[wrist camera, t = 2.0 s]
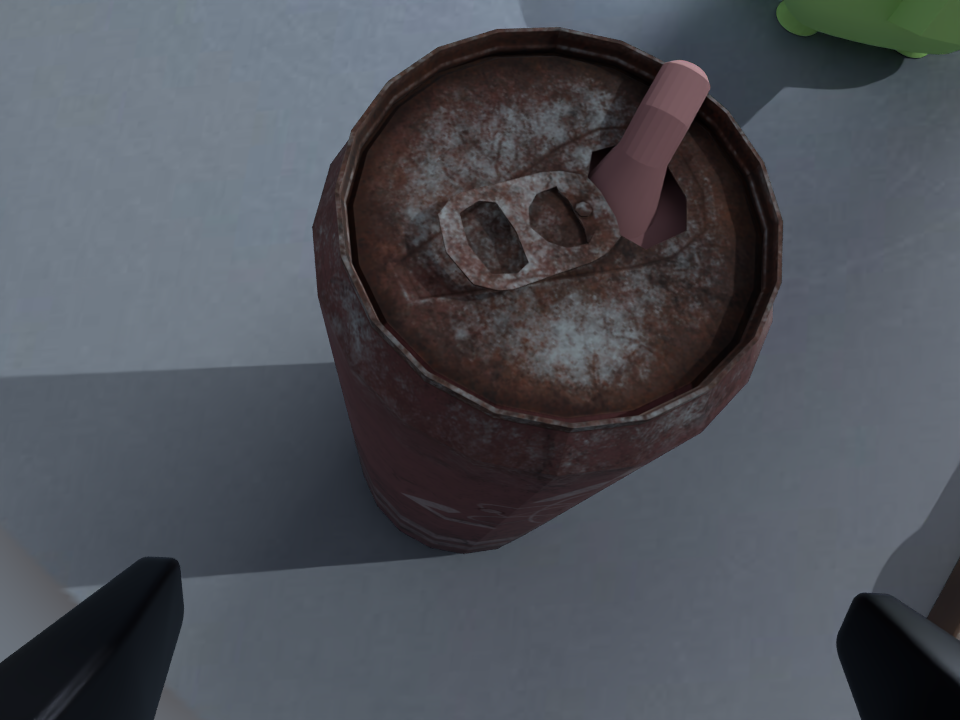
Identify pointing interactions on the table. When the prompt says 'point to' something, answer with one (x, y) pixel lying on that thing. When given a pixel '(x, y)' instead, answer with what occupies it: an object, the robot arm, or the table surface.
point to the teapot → (879, 23)
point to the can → (538, 276)
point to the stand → (948, 605)
